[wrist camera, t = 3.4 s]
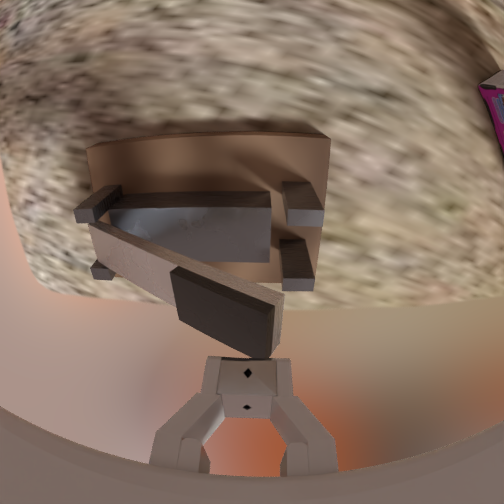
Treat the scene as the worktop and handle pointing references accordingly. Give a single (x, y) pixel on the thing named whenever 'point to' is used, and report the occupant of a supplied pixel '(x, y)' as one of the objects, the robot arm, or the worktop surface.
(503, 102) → the candy bar box
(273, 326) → the clamp bar
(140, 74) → the worktop surface
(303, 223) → the block
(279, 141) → the walnut base plate
